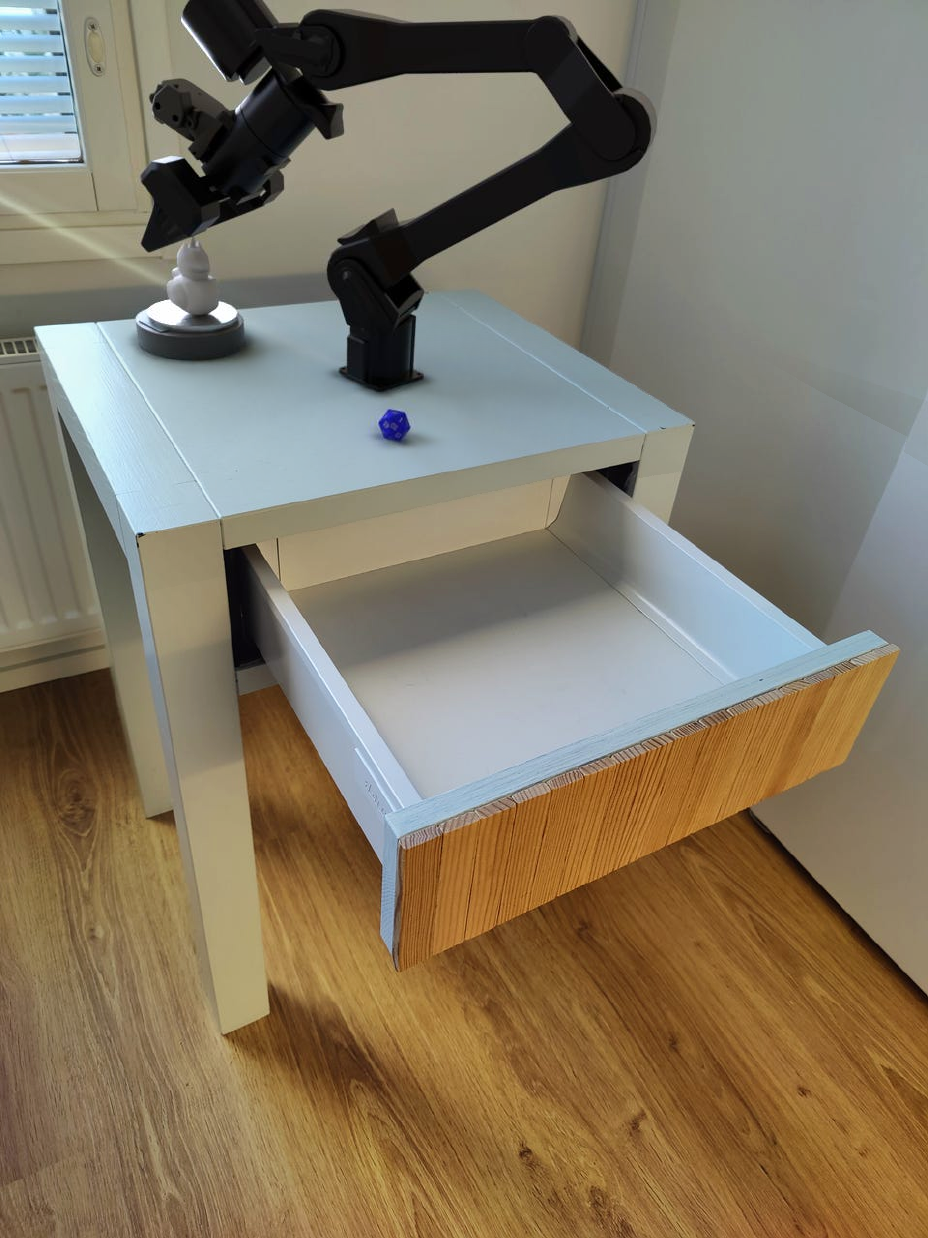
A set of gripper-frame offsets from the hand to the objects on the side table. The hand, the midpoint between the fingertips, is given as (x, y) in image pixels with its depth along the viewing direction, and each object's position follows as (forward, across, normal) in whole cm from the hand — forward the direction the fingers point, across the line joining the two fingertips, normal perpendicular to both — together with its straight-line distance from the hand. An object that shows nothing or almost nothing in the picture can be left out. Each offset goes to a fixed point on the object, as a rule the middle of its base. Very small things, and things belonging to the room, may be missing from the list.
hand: (169, 237), depth 87 cm
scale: (+6, 0, +8) cm, 10 cm away
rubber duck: (+4, -1, +6) cm, 8 cm away
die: (-13, +13, +28) cm, 33 cm away
